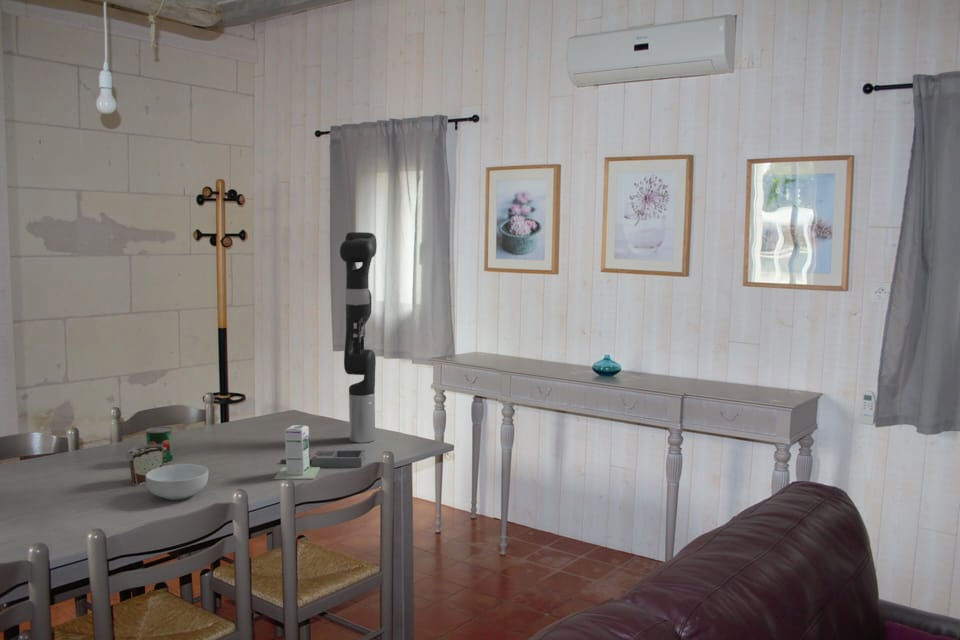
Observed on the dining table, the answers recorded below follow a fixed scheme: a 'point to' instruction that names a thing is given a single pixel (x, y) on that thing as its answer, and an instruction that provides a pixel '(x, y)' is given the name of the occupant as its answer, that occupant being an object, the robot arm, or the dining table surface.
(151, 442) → the canned tomato
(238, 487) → the dining table surface
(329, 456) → the rectangular frying pan
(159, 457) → the slice of cake
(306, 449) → the syrup box
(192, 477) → the cereal bowl
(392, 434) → the dining table surface
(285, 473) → the sage mat
